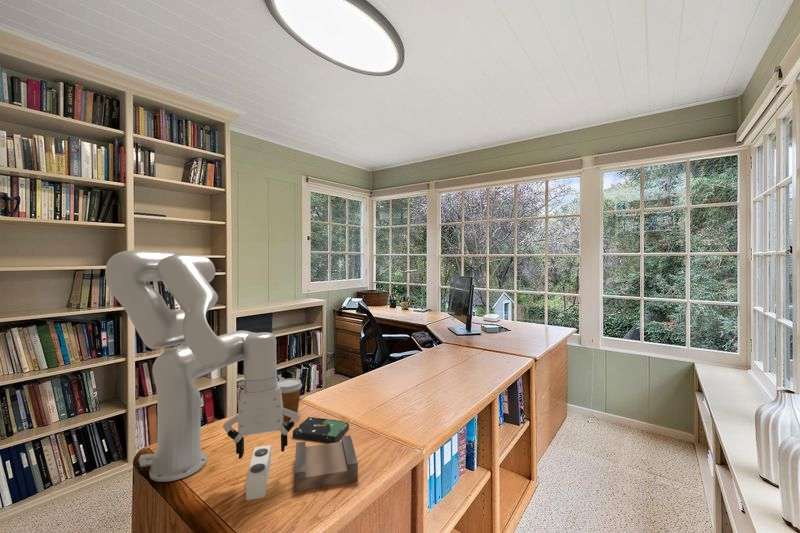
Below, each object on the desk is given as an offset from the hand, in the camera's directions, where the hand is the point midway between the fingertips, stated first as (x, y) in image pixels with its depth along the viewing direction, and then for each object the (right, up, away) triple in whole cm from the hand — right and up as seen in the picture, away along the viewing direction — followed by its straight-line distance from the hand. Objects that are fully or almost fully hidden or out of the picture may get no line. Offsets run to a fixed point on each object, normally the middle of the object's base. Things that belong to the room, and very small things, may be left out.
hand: (262, 452), depth 82 cm
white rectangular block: (-1, -7, 0) cm, 7 cm away
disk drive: (+9, -8, +24) cm, 27 cm away
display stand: (+15, -7, +5) cm, 17 cm away
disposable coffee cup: (-6, -7, +35) cm, 36 cm away
